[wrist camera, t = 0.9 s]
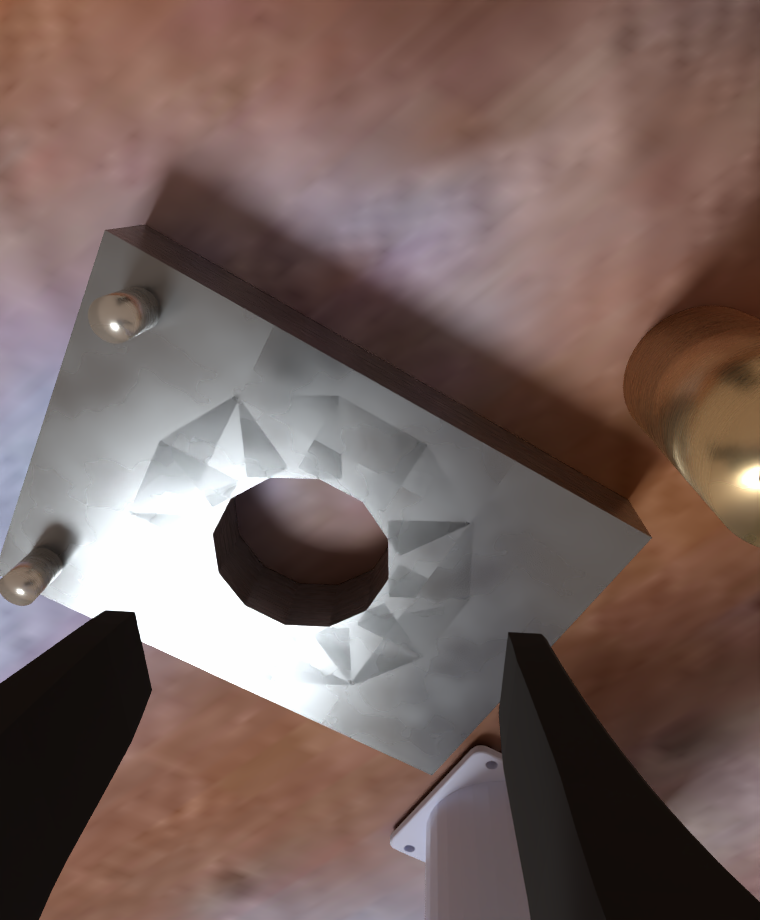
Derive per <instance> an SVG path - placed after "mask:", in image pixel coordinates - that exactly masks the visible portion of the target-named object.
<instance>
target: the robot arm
mask: <svg viewBox="0 0 760 920" xmlns="http://www.w3.org/2000/svg"><path fill="white" fill-rule="evenodd" d="M151 691H152V688H151V683H150V679H149V674H148V669H147V665H146V660H145V655H144V651H143V646H142V642H141V637H140V632H139V628H138V623H137V618H136V614H135V612H132V611H113V610H105V611H103V612H101V613H100V614H98V615H97V616H95V617H94V618H92V619H91V620H89V621H88V622H86V623H85V624H84V625H82V626H81V627H79V628H78V629H76V630H75V631H74V632H72V633H71V634H69V635H68V636H67V637H65V638H64V639H62V640H61V641H60V642H58V643H57V644H55V645H54V646H53V647H51V648H50V649H48V650H47V651H46V652H44V653H43V654H41V655H40V656H39V657H37V658H36V659H34V660H33V661H32V662H30V663H29V664H27V665H26V666H24V667H23V668H22V669H20V670H19V671H17V672H16V673H14V674H13V675H12V676H10V677H9V678H7V679H6V680H5V681H3V682H2V683H0V920H39V918H40V916H41V914H42V911H43V909H44V907H45V905H46V902H47V900H48V898H49V896H50V893H51V891H52V889H53V887H54V885H55V883H56V881H57V879H58V877H59V875H60V873H61V871H62V869H63V867H64V865H65V863H66V861H67V859H68V857H69V855H70V854H71V852H72V850H73V848H74V846H75V845H76V843H77V841H78V839H79V837H80V835H81V834H82V832H83V830H84V828H85V826H86V825H87V823H88V821H89V819H90V817H91V816H92V814H93V812H94V810H95V808H96V806H97V805H98V803H99V801H100V799H101V797H102V796H103V794H104V792H105V790H106V788H107V786H108V785H109V783H110V781H111V779H112V777H113V775H114V774H115V772H116V770H117V768H118V766H119V764H120V762H121V761H122V759H123V757H124V755H125V753H126V751H127V749H128V747H129V746H130V744H131V742H132V739H133V737H134V735H135V732H136V730H137V727H138V725H139V723H140V720H141V718H142V715H143V712H144V710H145V707H146V705H147V702H148V699H149V697H150V694H151ZM499 722H500V736H501V748H502V753H500V752H497V751H495V750H493V749H491V748H489V747H487V746H484V745H478V746H475V747H474V748H472V749H471V750H470V751H469V752H468V753H467V754H466V755H465V756H464V757H463V758H462V760H461V761H460V762H459V763H458V764H457V765H456V766H455V767H454V768H453V769H452V770H451V771H450V772H449V773H448V774H447V775H446V776H445V778H444V779H443V780H442V781H441V782H440V783H439V784H438V785H437V786H436V787H435V788H434V789H433V790H432V791H431V792H430V793H429V794H428V796H427V797H426V798H425V799H424V800H423V801H422V802H421V803H420V804H419V805H418V806H417V807H416V808H415V809H414V810H413V811H412V813H411V814H410V815H409V816H408V817H407V818H406V819H405V820H404V821H403V822H402V823H401V824H400V825H399V826H398V827H397V828H396V829H395V831H394V832H393V833H392V834H391V836H390V845H391V846H392V847H393V848H394V849H396V850H398V851H400V852H403V853H405V854H407V855H410V856H412V857H414V858H416V859H419V860H421V861H423V862H426V863H425V920H760V902H759V901H758V900H757V899H756V898H755V897H754V896H753V895H752V894H751V893H750V892H749V891H748V890H747V889H746V888H745V887H744V886H742V885H741V884H740V883H739V882H738V881H737V880H736V879H735V878H734V877H733V876H732V875H731V874H730V873H729V872H728V871H727V870H726V869H725V868H724V867H723V866H722V865H721V864H720V863H719V862H718V861H717V860H716V859H715V858H714V857H713V856H712V855H711V854H710V853H709V852H708V851H707V850H706V848H705V847H704V846H703V845H702V844H701V843H700V842H699V841H698V840H697V839H696V838H695V837H694V836H693V835H692V834H691V833H690V832H689V831H688V829H687V828H686V827H685V826H684V825H683V824H682V823H681V822H680V821H679V819H678V818H677V817H676V816H675V815H674V814H673V813H672V812H671V811H670V809H669V808H668V807H667V806H666V805H665V804H664V803H663V801H662V800H661V799H660V798H659V797H658V796H657V794H656V793H655V792H654V791H653V790H652V789H651V787H650V786H649V785H648V784H647V783H646V781H645V780H644V779H643V778H642V776H641V775H640V774H639V773H638V771H637V770H636V769H635V768H634V766H633V765H632V764H631V763H630V761H629V760H628V759H627V758H626V756H625V755H624V754H623V753H622V751H621V750H620V749H619V747H618V746H617V745H616V743H615V742H614V741H613V739H612V738H611V737H610V735H609V734H608V733H607V731H606V730H605V728H604V727H603V726H602V724H601V723H600V721H599V720H598V719H597V717H596V716H595V714H594V713H593V712H592V710H591V709H590V707H589V706H588V704H587V703H586V702H585V700H584V699H583V697H582V696H581V694H580V693H579V691H578V690H577V688H576V687H575V685H574V683H573V682H572V680H571V679H570V677H569V676H568V674H567V673H566V671H565V669H564V668H563V666H562V665H561V663H560V661H559V660H558V658H557V656H556V655H555V653H554V651H553V650H552V648H551V646H550V644H549V643H548V641H547V639H546V638H545V637H544V636H543V635H542V634H537V633H519V632H508V637H507V646H506V655H505V663H504V672H503V680H502V689H501V698H500V706H499Z"/></svg>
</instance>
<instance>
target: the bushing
mask: <svg viewBox="0 0 760 920" xmlns="http://www.w3.org/2000/svg"><path fill="white" fill-rule="evenodd" d="M623 391H624V398H625V403H626V405H627V408H628V410H629V412H630V414H631V416H632V417H633V419H634V420H635V421H636V422H637V424H638V425H639V426H640V427H641V428H642V429H643V431H644V432H645V433H646V434H647V435H648V436H649V438H650V439H651V440H652V441H653V442H654V443H655V444H656V446H657V447H658V448H659V449H660V450H661V451H662V453H663V454H664V455H665V456H666V457H667V458H668V460H669V461H670V462H671V463H672V464H673V465H674V467H675V468H676V469H677V470H678V471H679V472H680V473H681V475H682V476H683V477H684V478H685V479H686V480H687V482H688V483H689V484H690V485H691V486H692V487H693V489H694V490H695V491H696V492H697V493H698V494H699V496H700V497H701V498H702V499H703V500H704V501H705V502H706V504H707V505H708V506H709V507H710V508H711V509H712V511H713V512H714V513H715V514H716V515H717V516H718V518H719V519H720V520H721V521H722V522H723V523H724V524H725V526H726V527H727V528H728V529H729V530H730V531H732V532H733V533H734V534H735V535H736V536H738V537H739V538H741V539H742V540H744V541H746V542H748V543H750V544H752V545H754V546H757V547H760V319H758V318H756V317H753V316H751V315H748V314H746V313H743V312H741V311H738V310H735V309H733V308H729V307H724V306H700V307H695V308H690V309H687V310H684V311H681V312H678V313H676V314H674V315H672V316H670V317H668V318H666V319H665V320H663V321H662V322H660V323H659V324H657V325H656V326H655V327H654V328H652V329H651V330H650V331H649V332H648V333H647V334H646V335H645V336H644V337H643V339H642V340H641V341H640V342H639V343H638V345H637V346H636V348H635V349H634V351H633V353H632V355H631V357H630V359H629V361H628V364H627V366H626V370H625V374H624V382H623Z"/></svg>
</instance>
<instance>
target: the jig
mask: <svg viewBox="0 0 760 920" xmlns="http://www.w3.org/2000/svg"><path fill="white" fill-rule="evenodd" d="M268 478H308V479H321V480H322V481H324V482H326V483H328V484H330V485H332V486H334V487H336V488H338V489H340V490H341V491H343V492H345V493H347V494H349V495H351V496H353V497H355V498H357V499H358V500H360V501H362V502H363V503H364V504H365V506H366V507H367V509H368V510H369V511H370V513H371V514H372V516H373V517H374V519H375V520H376V522H377V523H378V525H379V526H380V528H381V529H382V531H383V532H384V534H385V535H386V537H387V538H388V548H387V550H386V551H385V552H384V554H383V555H382V557H381V558H380V560H379V561H378V563H377V564H376V566H375V567H374V569H373V570H371V571H369V572H367V573H364V574H362V575H360V576H358V577H355V578H353V579H351V580H349V581H347V582H344V583H342V584H340V585H319V584H298V583H296V582H294V581H292V580H290V579H288V578H286V577H284V576H282V575H280V574H278V573H276V572H274V571H272V570H270V569H268V568H266V567H264V566H263V565H262V564H261V563H260V562H259V560H258V559H257V558H256V556H255V555H254V554H253V553H252V551H251V550H250V549H249V547H248V546H247V545H246V544H245V542H244V541H243V540H242V538H241V537H240V536H239V531H238V523H237V516H236V508H235V501H234V499H235V497H236V495H238V494H240V493H242V492H244V491H246V490H247V489H249V488H251V487H253V486H255V485H257V484H259V483H261V482H262V481H264V480H266V479H268ZM651 538H652V537H651V535H650V534H649V532H648V531H647V529H646V527H645V526H644V524H643V523H642V521H641V519H640V518H639V516H638V515H637V513H636V511H635V510H634V508H633V507H632V505H631V503H630V502H629V500H627V499H625V498H624V497H622V496H620V495H618V494H616V493H615V492H613V491H611V490H609V489H608V488H606V487H604V486H602V485H601V484H599V483H597V482H595V481H594V480H592V479H590V478H588V477H587V476H585V475H583V474H581V473H580V472H578V471H576V470H574V469H573V468H571V467H569V466H567V465H566V464H564V463H562V462H560V461H559V460H557V459H555V458H553V457H552V456H550V455H548V454H546V453H545V452H543V451H541V450H539V449H538V448H536V447H534V446H532V445H530V444H529V443H527V442H525V441H523V440H522V439H520V438H518V437H516V436H515V435H513V434H511V433H509V432H508V431H506V430H504V429H502V428H501V427H499V426H497V425H495V424H494V423H492V422H490V421H488V420H487V419H485V418H483V417H481V416H480V415H478V414H476V413H474V412H473V411H471V410H469V409H467V408H466V407H464V406H462V405H460V404H459V403H457V402H455V401H453V400H452V399H450V398H448V397H446V396H444V395H443V394H441V393H439V392H437V391H436V390H434V389H432V388H430V387H429V386H427V385H425V384H423V383H422V382H420V381H418V380H416V379H415V378H413V377H411V376H409V375H408V374H406V373H404V372H402V371H401V370H399V369H397V368H395V367H394V366H392V365H390V364H388V363H387V362H385V361H383V360H381V359H380V358H378V357H376V356H374V355H373V354H371V353H369V352H367V351H366V350H364V349H362V348H360V347H358V346H357V345H355V344H353V343H351V342H350V341H348V340H346V339H344V338H343V337H341V336H339V335H337V334H336V333H334V332H332V331H330V330H329V329H327V328H325V327H323V326H322V325H320V324H318V323H316V322H315V321H313V320H311V319H309V318H308V317H306V316H304V315H302V314H301V313H299V312H297V311H295V310H294V309H292V308H290V307H288V306H287V305H285V304H283V303H281V302H279V301H278V300H276V299H274V298H272V297H271V296H269V295H267V294H265V293H264V292H262V291H260V290H258V289H257V288H255V287H253V286H251V285H250V284H248V283H246V282H244V281H243V280H241V279H239V278H237V277H236V276H234V275H232V274H230V273H229V272H227V271H225V270H223V269H222V268H220V267H218V266H216V265H215V264H213V263H211V262H209V261H208V260H206V259H204V258H202V257H201V256H199V255H197V254H195V253H193V252H192V251H190V250H188V249H186V248H185V247H183V246H181V245H179V244H178V243H176V242H174V241H172V240H171V239H169V238H167V237H165V236H164V235H162V234H160V233H158V232H157V231H155V230H153V229H151V228H150V227H148V226H146V225H139V226H131V227H124V228H117V229H109V230H105V232H104V235H103V238H102V241H101V244H100V247H99V250H98V253H97V257H96V260H95V263H94V266H93V269H92V272H91V275H90V278H89V281H88V284H87V288H86V291H85V294H84V297H83V300H82V303H81V306H80V309H79V312H78V316H77V319H76V322H75V325H74V328H73V331H72V334H71V337H70V340H69V344H68V347H67V350H66V353H65V356H64V359H63V362H62V365H61V368H60V371H59V375H58V378H57V381H56V384H55V387H54V390H53V393H52V396H51V399H50V403H49V406H48V409H47V412H46V415H45V418H44V421H43V424H42V427H41V431H40V434H39V437H38V440H37V443H36V446H35V449H34V452H33V455H32V458H31V462H30V465H29V468H28V471H27V474H26V477H25V480H24V483H23V486H22V490H21V493H20V496H19V499H18V502H17V505H16V508H15V511H14V514H13V518H12V521H11V524H10V527H9V530H8V533H7V536H6V539H5V542H4V545H3V549H2V552H1V555H0V576H2V577H3V578H1V579H0V593H1V595H2V596H3V597H4V598H5V599H6V600H7V601H9V602H11V603H13V604H15V605H19V606H25V605H29V604H31V603H32V602H33V601H34V600H35V599H36V598H37V597H38V596H39V595H40V594H41V595H43V596H45V597H47V598H49V599H51V600H54V601H56V602H58V603H60V604H62V605H64V606H67V607H69V608H71V609H73V610H75V611H77V612H80V613H82V614H84V615H86V616H88V617H90V618H94V617H95V616H97V615H98V614H100V613H101V612H103V611H105V610H113V611H132V612H135V614H136V618H137V623H138V628H139V632H140V637H141V641H142V642H145V643H147V644H149V645H151V646H153V647H155V648H158V649H160V650H162V651H164V652H166V653H168V654H171V655H173V656H175V657H177V658H179V659H181V660H184V661H186V662H188V663H190V664H192V665H194V666H197V667H199V668H201V669H203V670H205V671H207V672H210V673H212V674H214V675H216V676H218V677H220V678H223V679H225V680H227V681H229V682H231V683H233V684H235V685H238V686H240V687H242V688H244V689H246V690H248V691H251V692H253V693H255V694H257V695H259V696H261V697H264V698H266V699H268V700H270V701H272V702H274V703H277V704H279V705H281V706H283V707H285V708H287V709H290V710H292V711H294V712H296V713H298V714H300V715H303V716H305V717H307V718H309V719H311V720H313V721H316V722H318V723H320V724H322V725H324V726H326V727H329V728H331V729H333V730H335V731H337V732H339V733H342V734H344V735H346V736H348V737H350V738H352V739H355V740H357V741H359V742H361V743H363V744H365V745H368V746H370V747H372V748H374V749H376V750H378V751H381V752H383V753H385V754H387V755H389V756H391V757H394V758H396V759H398V760H400V761H402V762H404V763H407V764H409V765H411V766H413V767H415V768H417V769H420V770H422V771H424V772H426V773H428V774H430V775H433V774H434V773H435V771H436V770H437V769H438V768H439V767H440V766H441V765H442V764H443V763H444V762H445V761H446V760H447V758H448V757H449V756H450V755H451V754H452V753H453V752H454V751H455V750H456V749H457V748H458V747H459V746H460V744H461V743H462V742H463V741H464V740H465V739H466V738H467V737H468V736H469V735H470V734H471V733H472V731H473V730H474V729H475V728H476V727H477V726H478V725H479V724H480V723H481V722H482V721H483V720H484V719H485V717H486V716H487V715H488V714H489V713H490V712H491V711H492V710H493V709H494V708H495V707H496V706H497V704H498V703H499V702H500V698H501V689H502V680H503V672H504V663H505V655H506V646H507V637H508V632H519V633H537V634H542V635H543V636H544V637H545V638H546V639H547V641H548V643H549V644H550V646H552V645H553V644H554V643H555V642H556V641H557V640H558V639H559V638H560V636H561V635H562V634H563V633H564V632H565V631H566V630H567V629H568V628H569V627H570V626H571V625H572V624H573V622H574V621H575V620H576V619H577V618H578V617H579V616H580V615H581V614H582V613H583V612H584V611H585V609H586V608H587V607H588V606H589V605H590V604H591V603H592V602H593V601H594V600H595V599H596V598H597V597H598V595H599V594H600V593H601V592H602V591H603V590H604V589H605V588H606V587H607V586H608V585H609V584H610V582H611V581H612V580H613V579H614V578H615V577H616V576H617V575H618V574H619V573H620V572H621V571H622V570H623V568H624V567H625V566H626V565H627V564H628V563H629V562H630V561H631V560H632V559H633V558H634V557H635V556H636V554H637V553H638V552H639V551H640V550H641V549H642V548H643V547H644V546H645V545H646V544H647V543H648V541H649V540H650V539H651Z"/></svg>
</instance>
